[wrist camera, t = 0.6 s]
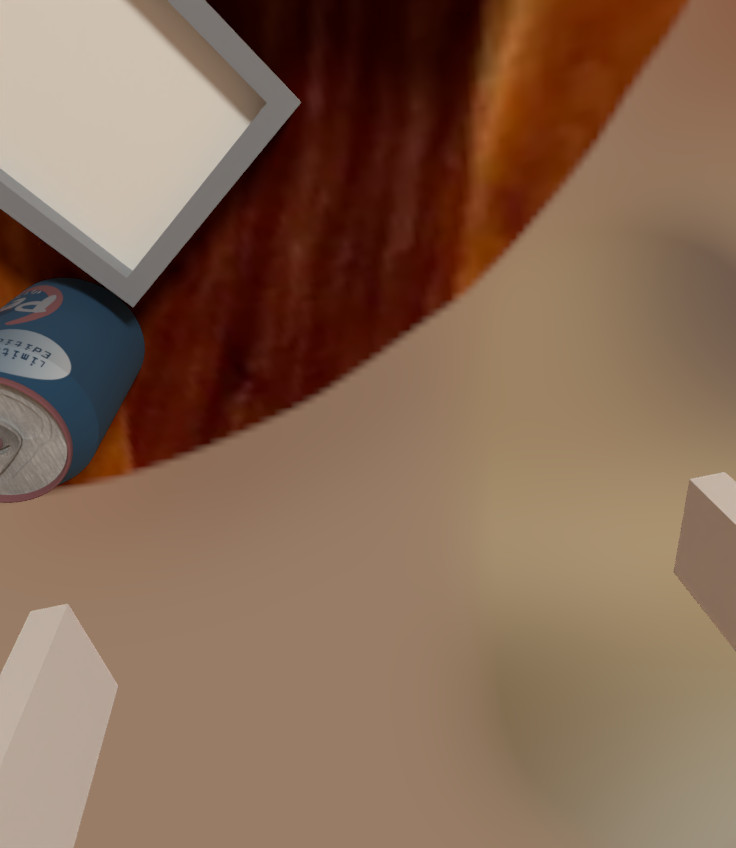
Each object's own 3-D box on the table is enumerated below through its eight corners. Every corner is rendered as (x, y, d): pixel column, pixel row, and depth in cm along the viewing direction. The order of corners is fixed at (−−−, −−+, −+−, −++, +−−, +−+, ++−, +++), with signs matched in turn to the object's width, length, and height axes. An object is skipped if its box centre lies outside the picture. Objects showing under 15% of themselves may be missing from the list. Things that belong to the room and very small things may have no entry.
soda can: (58, 243, 30) (-61, 323, 20) (174, 325, 33) (121, 433, 23) (-6, 338, 32) (-145, 455, 22) (107, 408, 35) (32, 541, 25)
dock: (-143, 48, 25) (-225, 41, 21) (-1, -219, 22) (-66, -288, 18) (153, 279, 32) (133, 307, 28) (299, 100, 28) (301, 102, 24)
